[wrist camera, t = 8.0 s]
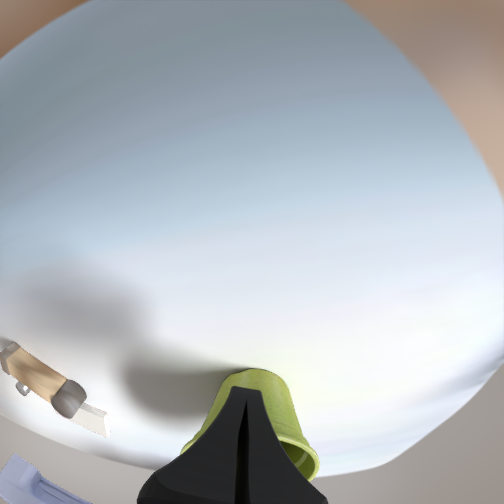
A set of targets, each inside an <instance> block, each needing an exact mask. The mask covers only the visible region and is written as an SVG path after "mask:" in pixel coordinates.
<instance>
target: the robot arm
mask: <svg viewBox="0 0 504 504" xmlns="http://www.w3.org/2000/svg"><path fill="white" fill-rule="evenodd" d="M0 497H1V498H2V499H4V500H5V501H6V502H7V503H8V504H92V503H90V502H88V501H86V500H84V499H82V498H80V497H78V496H76V495H74V494H72V493H70V492H68V491H66V490H64V489H63V488H61V487H59V486H57V485H56V484H54V483H52V482H50V481H49V480H47V479H45V478H44V477H42V475H41V473H40V472H39V471H38V470H37V469H36V468H35V467H34V466H33V465H31V464H30V463H28V462H27V461H25V460H24V459H22V458H21V457H20V456H18V455H17V454H13V455H12V456H11V458H10V459H9V461H8V462H7V464H6V465H5V466H4V468H3V469H2V470H1V472H0ZM137 504H328V501H327V498H326V497H325V496H324V495H323V494H321V493H320V492H319V491H318V490H317V489H316V488H315V487H314V486H313V485H312V484H311V483H310V482H309V481H308V480H307V479H306V478H305V477H304V476H303V475H302V473H301V472H300V471H299V470H298V468H297V467H296V466H295V465H294V463H293V462H292V461H291V459H290V458H289V456H288V455H287V453H286V451H285V450H284V448H283V447H282V445H281V443H280V441H279V439H278V437H277V435H276V433H275V431H274V429H273V426H272V424H271V421H270V419H269V416H268V413H267V410H266V407H265V404H264V400H263V396H262V392H261V391H260V390H255V389H249V388H244V387H239V386H232V387H231V390H230V393H229V396H228V398H227V400H226V402H225V404H224V405H223V407H222V409H221V410H220V412H219V414H218V415H217V417H216V418H215V419H214V421H213V422H212V423H211V425H210V426H209V427H208V428H207V430H206V431H205V432H204V433H203V434H202V435H201V436H200V437H199V438H198V439H197V441H195V442H194V443H193V444H192V445H191V446H190V447H189V448H188V449H187V450H186V451H185V452H183V453H182V454H181V455H179V456H178V457H177V458H176V459H174V460H173V461H172V462H170V463H169V464H167V465H166V466H164V467H162V468H161V469H159V470H157V471H156V472H154V473H153V474H152V475H151V476H150V478H149V479H148V480H147V481H146V483H145V484H144V485H143V487H142V489H141V490H140V492H139V495H138V498H137Z"/></svg>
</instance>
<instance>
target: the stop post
mask: <svg viewBox="0 0 504 504" xmlns="http://www.w3.org/2000/svg"><path fill="white" fill-rule="evenodd" d="M16 388H17V390H18V391H19V392H20V393H21V394H22V395H23V396H26V395H27V394H28V393H29V392H30V391H31V390H30V389H29V388H28V387H26V386H25V385H24V384H22V383H21V382H20V381H19V382H18V383H17V384H16Z"/></svg>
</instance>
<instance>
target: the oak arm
mask: <svg viewBox="0 0 504 504" xmlns="http://www.w3.org/2000/svg"><path fill="white" fill-rule="evenodd" d="M0 361H1V365H2V369H3V371H4V372H6V373H7V374H8V375H10V374H11V375H12V376H13V377H15V378H16V379H17V380H18V381H20V382H21V383H22V384H24V385H25V386H26V387H28V388H29V389H30V390H32V391H33V392H35V393H36V394H37V395H39V396H40V397H42V398H43V399H45V400H46V401H48V402H49V403H51V404H52V406H53V407H54V409H55V410H56V411H57V412H58V413H59V414H60V415H62V416H63V417H65V418H68V419H71V418H73V416H74V415H75V413H76V412H77V411H78V409H79V408H80V406H81V405H82V403H83V402H84V401H85V399H86V397H87V396H86V393H85V391H84V389H83V388H82V387H81V386H80V385H79V384H78V383H76V382H74V381H72V380H67V378H65V377H64V376H62V375H60V374H59V373H57V372H56V371H54V370H53V369H51V368H49V367H48V366H46V365H45V364H43V363H42V362H40V361H39V360H37V359H36V358H35V357H33V356H32V355H30V354H29V353H28V352H26V351H25V350H23V349H22V348H21V347H20V346H19V345H18V344H16V343H15V342H13V343H12V344H10V345H9V346H8V347H7V348H6V349H4V350H3V351H2V352H1V353H0Z"/></svg>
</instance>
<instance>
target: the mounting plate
mask: <svg viewBox="0 0 504 504" xmlns="http://www.w3.org/2000/svg"><path fill="white" fill-rule="evenodd" d="M55 412H56V413H57V414H59V413H58V412H57V411H56V410H55ZM59 415H60V414H59ZM60 416H62V415H60ZM62 417H63V416H62ZM64 418H65V417H64ZM66 419H68V418H66ZM68 420H70V421H72V422H74V423H76V424H78V425H80V426H82V427H84V428H86V429H88V430H91V431H93V432H95V433H97V434H99V435H102V436H104V437H106V438H108V437H109V435H110V433H111V432H110V427H109V422H108V417H107V413H106V412H103V411H101V410H99V409H96V408H94V407H92V406H90V405H87V404H85V403H82V405H81V406H80V408H79V409H78V411H77V412H76V413H75V415H74V416H73V418H71V419H68Z"/></svg>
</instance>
